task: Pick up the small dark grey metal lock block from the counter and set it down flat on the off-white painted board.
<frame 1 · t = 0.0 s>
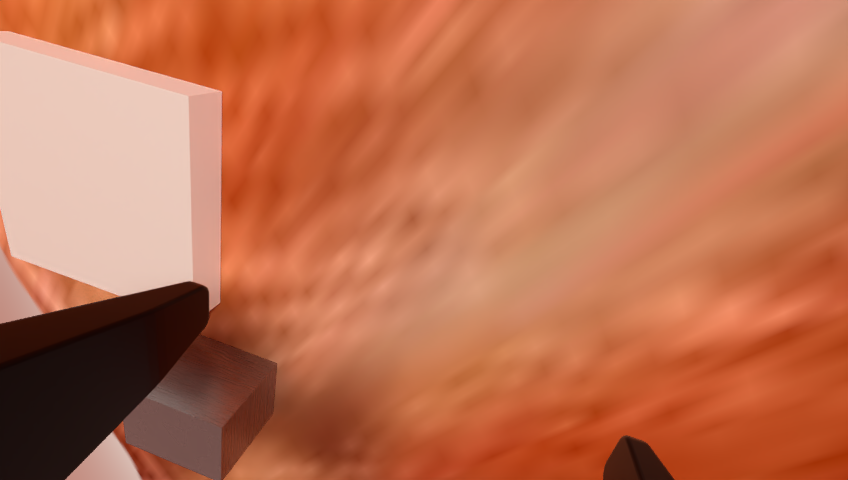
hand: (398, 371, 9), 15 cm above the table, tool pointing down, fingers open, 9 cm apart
lock block: (232, 372, 33), on the table
board: (122, 177, 28), on the table
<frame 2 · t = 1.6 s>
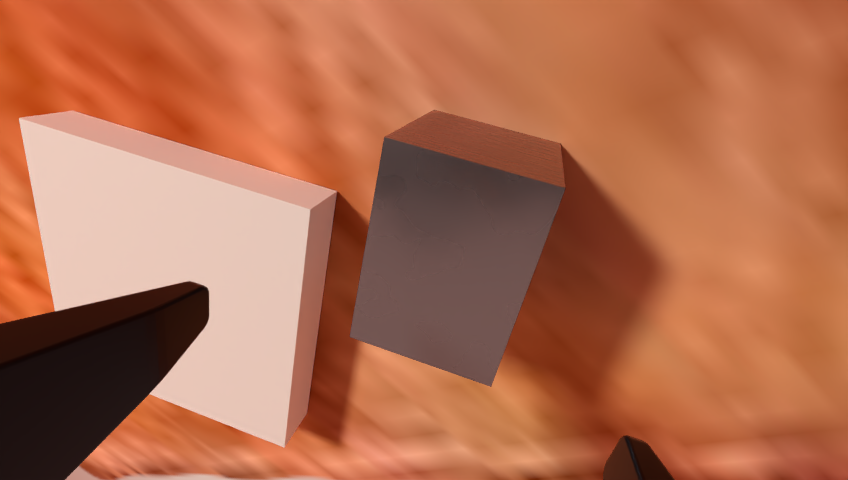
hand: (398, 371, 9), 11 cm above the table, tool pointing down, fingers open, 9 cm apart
lock block: (472, 208, 19), on the table
board: (200, 275, 24), on the table
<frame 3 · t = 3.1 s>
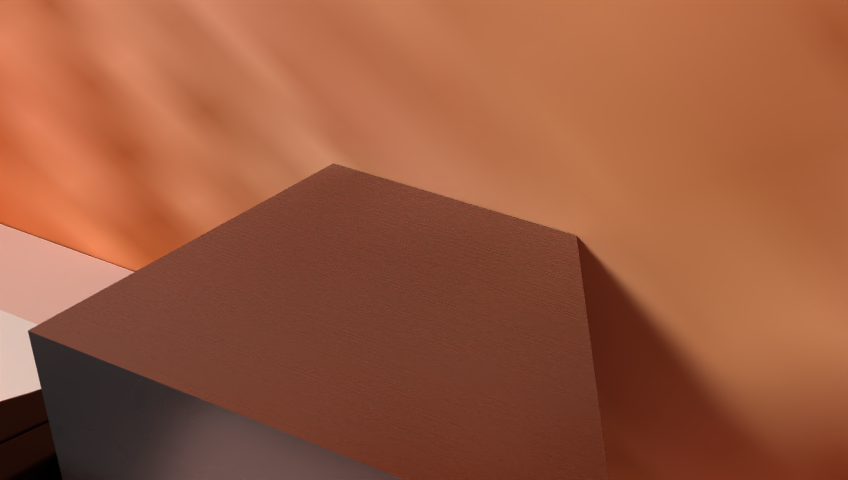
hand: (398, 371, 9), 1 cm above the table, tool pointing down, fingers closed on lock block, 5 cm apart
lock block: (414, 336, 10), on the table, touching gripper
board: (18, 393, 16), on the table
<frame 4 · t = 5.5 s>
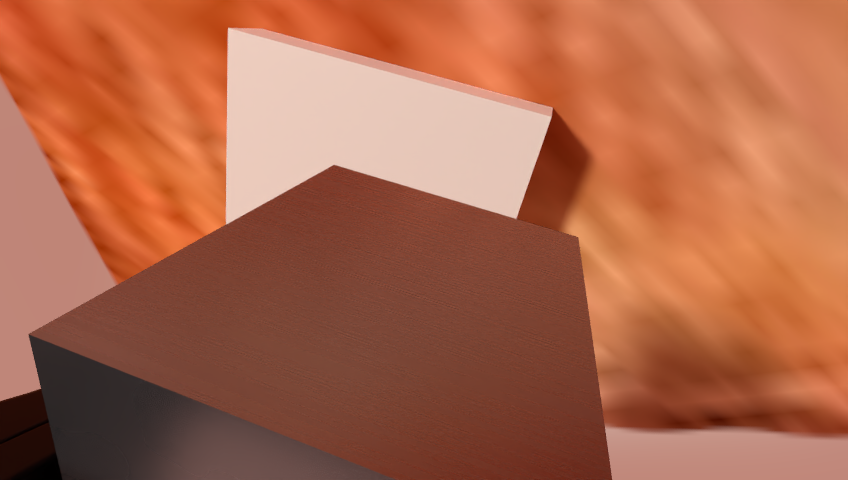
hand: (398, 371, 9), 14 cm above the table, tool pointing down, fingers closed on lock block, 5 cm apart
lock block: (415, 338, 10), point 12 cm above the table, touching gripper
board: (374, 205, 23), on the table
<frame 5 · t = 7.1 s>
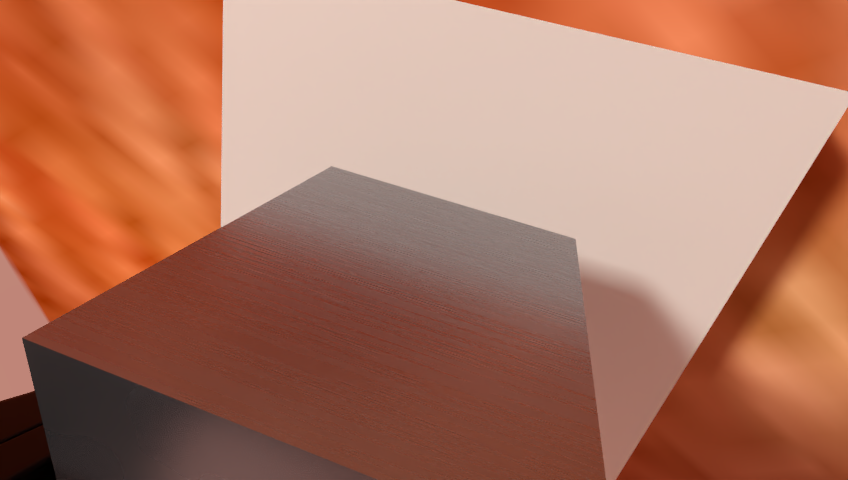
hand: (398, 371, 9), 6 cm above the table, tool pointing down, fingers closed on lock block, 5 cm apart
lock block: (413, 339, 10), point 5 cm above the table, touching gripper
board: (453, 246, 15), on the table
when the fingers open (5 cm above the table, at t = 8.3 s): lock block stays where it is, resting on board.
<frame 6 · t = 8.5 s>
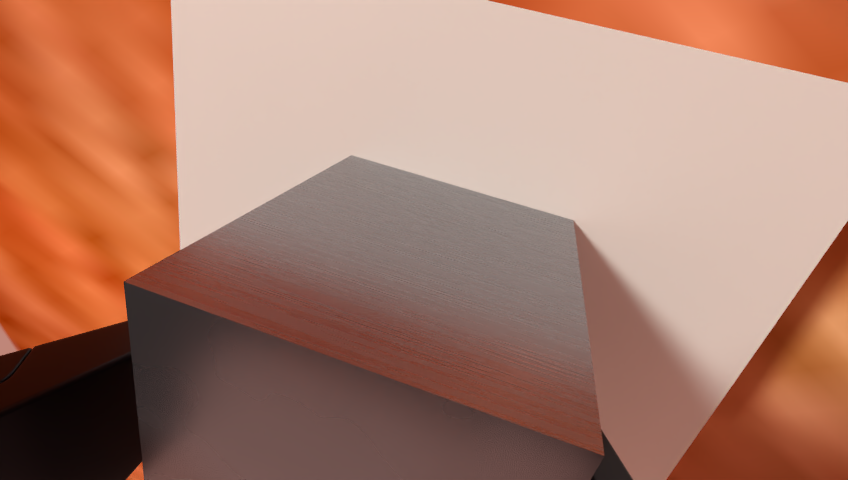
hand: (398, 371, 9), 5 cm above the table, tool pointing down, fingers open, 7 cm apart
lock block: (424, 316, 11), point 2 cm above the table, touching board
board: (444, 269, 13), on the table
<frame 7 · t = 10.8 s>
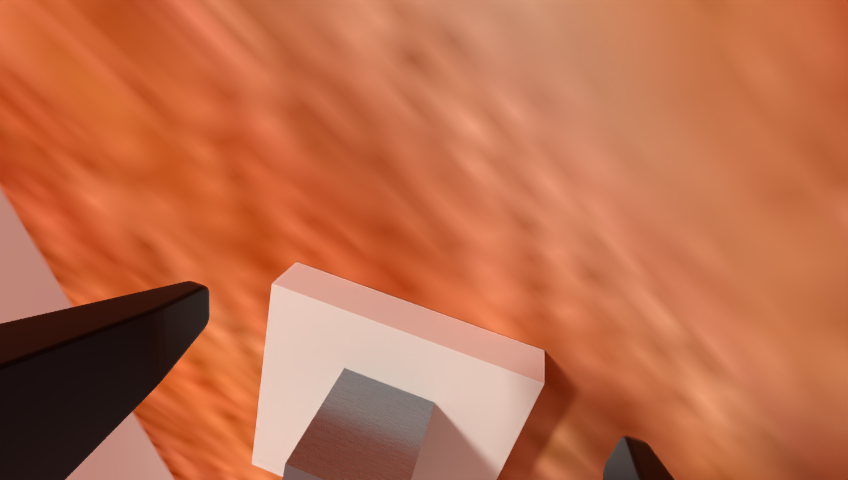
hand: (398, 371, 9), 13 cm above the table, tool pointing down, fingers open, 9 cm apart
lock block: (375, 430, 25), point 2 cm above the table, touching board
board: (389, 398, 27), on the table
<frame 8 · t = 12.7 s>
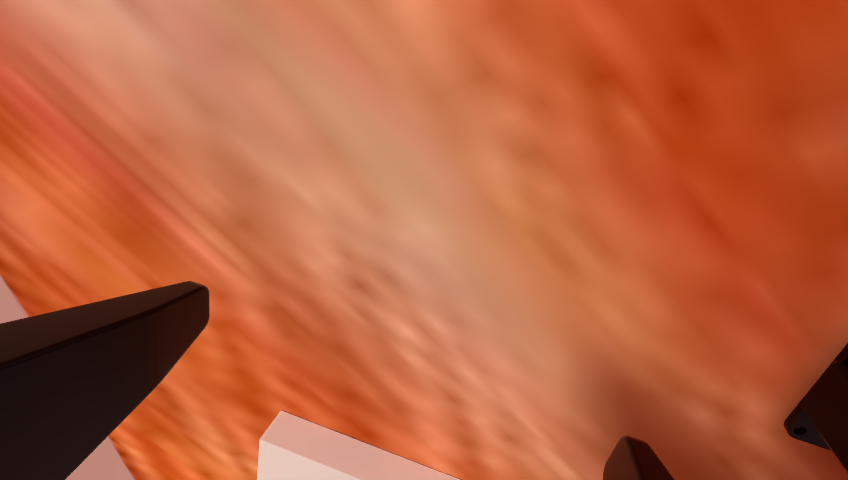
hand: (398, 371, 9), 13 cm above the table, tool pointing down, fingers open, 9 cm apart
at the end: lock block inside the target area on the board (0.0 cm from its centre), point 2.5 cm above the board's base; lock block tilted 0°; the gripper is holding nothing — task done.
